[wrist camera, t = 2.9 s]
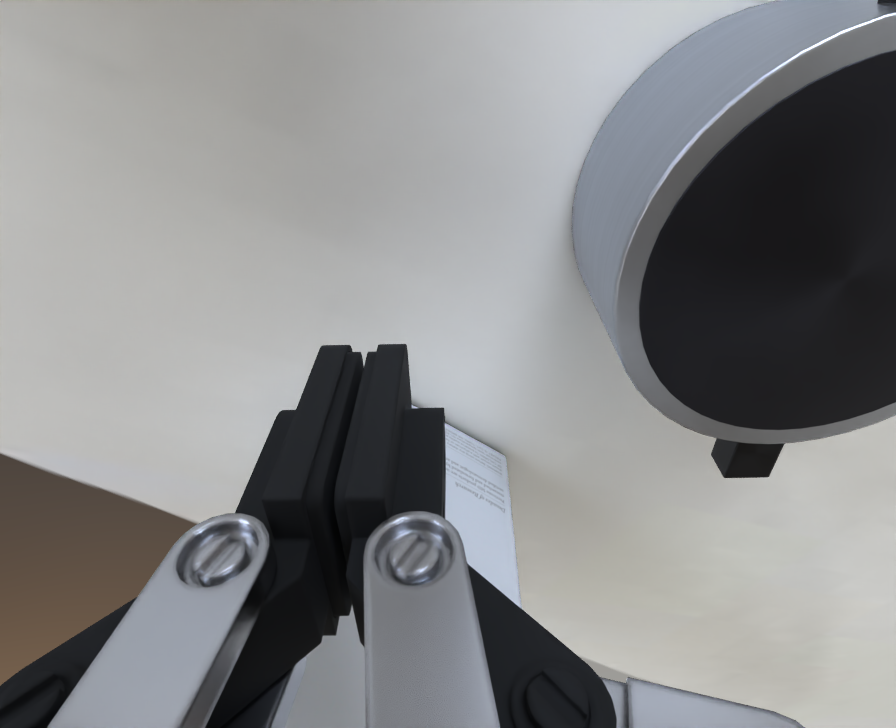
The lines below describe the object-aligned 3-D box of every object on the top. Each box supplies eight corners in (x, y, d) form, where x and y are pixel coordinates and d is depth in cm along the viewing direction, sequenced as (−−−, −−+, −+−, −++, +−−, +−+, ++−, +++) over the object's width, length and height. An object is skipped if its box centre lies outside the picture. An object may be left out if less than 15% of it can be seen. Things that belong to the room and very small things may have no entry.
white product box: (351, 364, 23) (235, 796, 11) (510, 453, 26) (564, 869, 14) (261, 480, 27) (104, 885, 15) (407, 545, 30) (377, 926, 18)
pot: (605, -87, 14) (688, -129, 9) (1058, -101, 14) (1392, -152, 9) (552, 385, 23) (579, 490, 18) (825, 380, 23) (927, 485, 18)
